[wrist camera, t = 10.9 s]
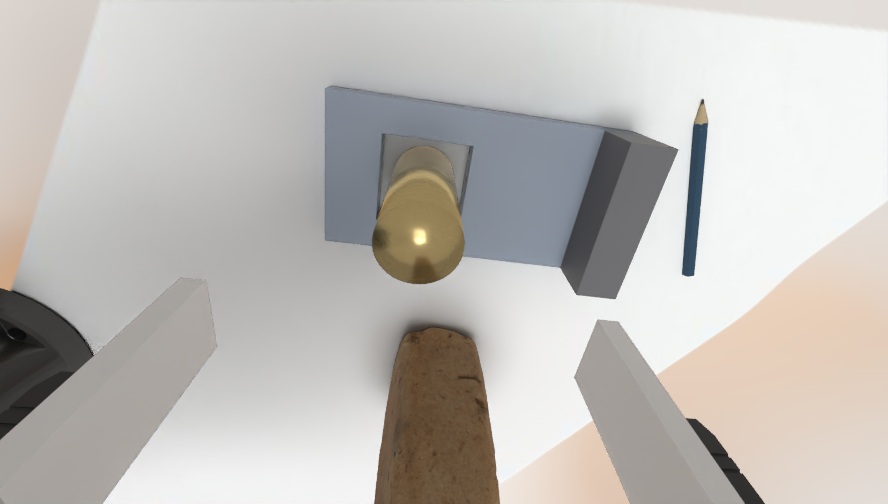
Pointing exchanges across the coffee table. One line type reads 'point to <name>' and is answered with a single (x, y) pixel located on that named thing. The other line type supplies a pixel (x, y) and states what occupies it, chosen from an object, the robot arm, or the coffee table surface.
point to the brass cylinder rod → (420, 219)
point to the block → (437, 425)
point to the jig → (505, 182)
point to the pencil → (695, 190)
